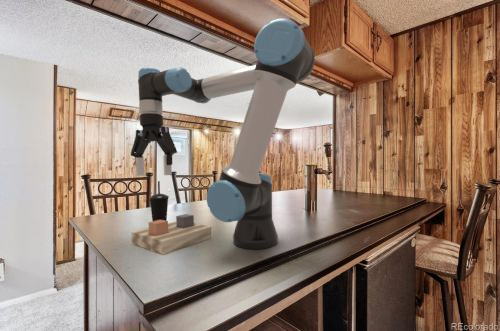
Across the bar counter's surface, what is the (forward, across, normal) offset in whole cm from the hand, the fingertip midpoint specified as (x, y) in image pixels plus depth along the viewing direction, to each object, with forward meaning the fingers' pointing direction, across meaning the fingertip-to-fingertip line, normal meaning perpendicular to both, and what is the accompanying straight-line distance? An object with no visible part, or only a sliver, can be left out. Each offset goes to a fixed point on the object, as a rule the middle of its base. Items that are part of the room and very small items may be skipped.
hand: (153, 175), depth 87 cm
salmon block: (+20, -4, +2) cm, 21 cm away
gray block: (+20, -6, -9) cm, 23 cm away
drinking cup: (+23, +11, -12) cm, 28 cm away
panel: (+23, -5, -3) cm, 24 cm away
